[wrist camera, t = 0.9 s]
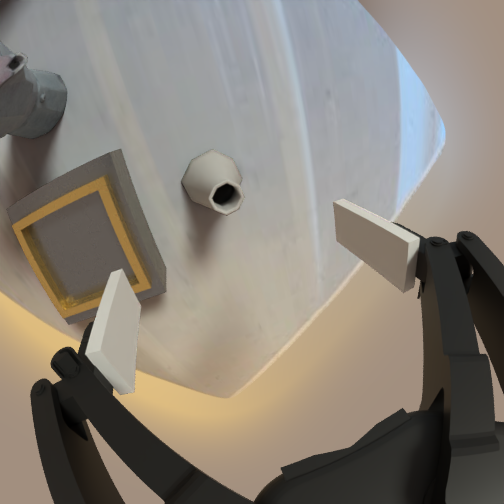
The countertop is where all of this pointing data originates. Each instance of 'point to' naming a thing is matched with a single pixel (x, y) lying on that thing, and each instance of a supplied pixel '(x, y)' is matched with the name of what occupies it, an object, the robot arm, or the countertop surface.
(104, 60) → the countertop surface
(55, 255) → the plate
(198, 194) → the flask
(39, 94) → the moka pot
